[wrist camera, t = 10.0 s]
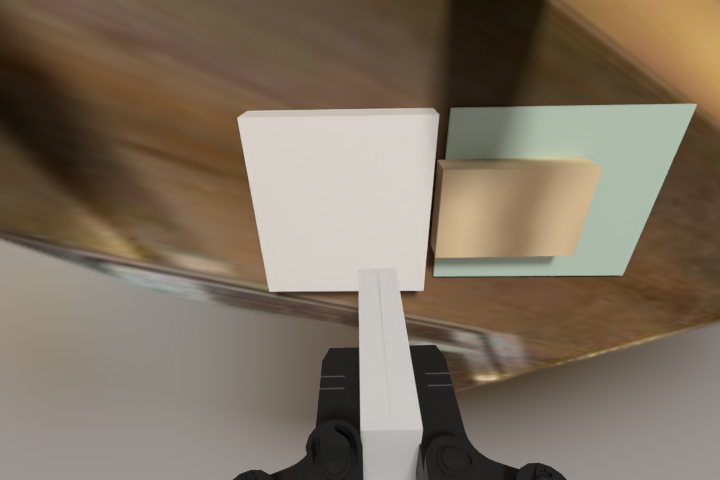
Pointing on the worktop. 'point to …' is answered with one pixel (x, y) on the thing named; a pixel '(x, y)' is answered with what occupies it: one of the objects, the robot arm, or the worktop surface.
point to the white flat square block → (341, 193)
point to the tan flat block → (511, 206)
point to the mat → (576, 139)
